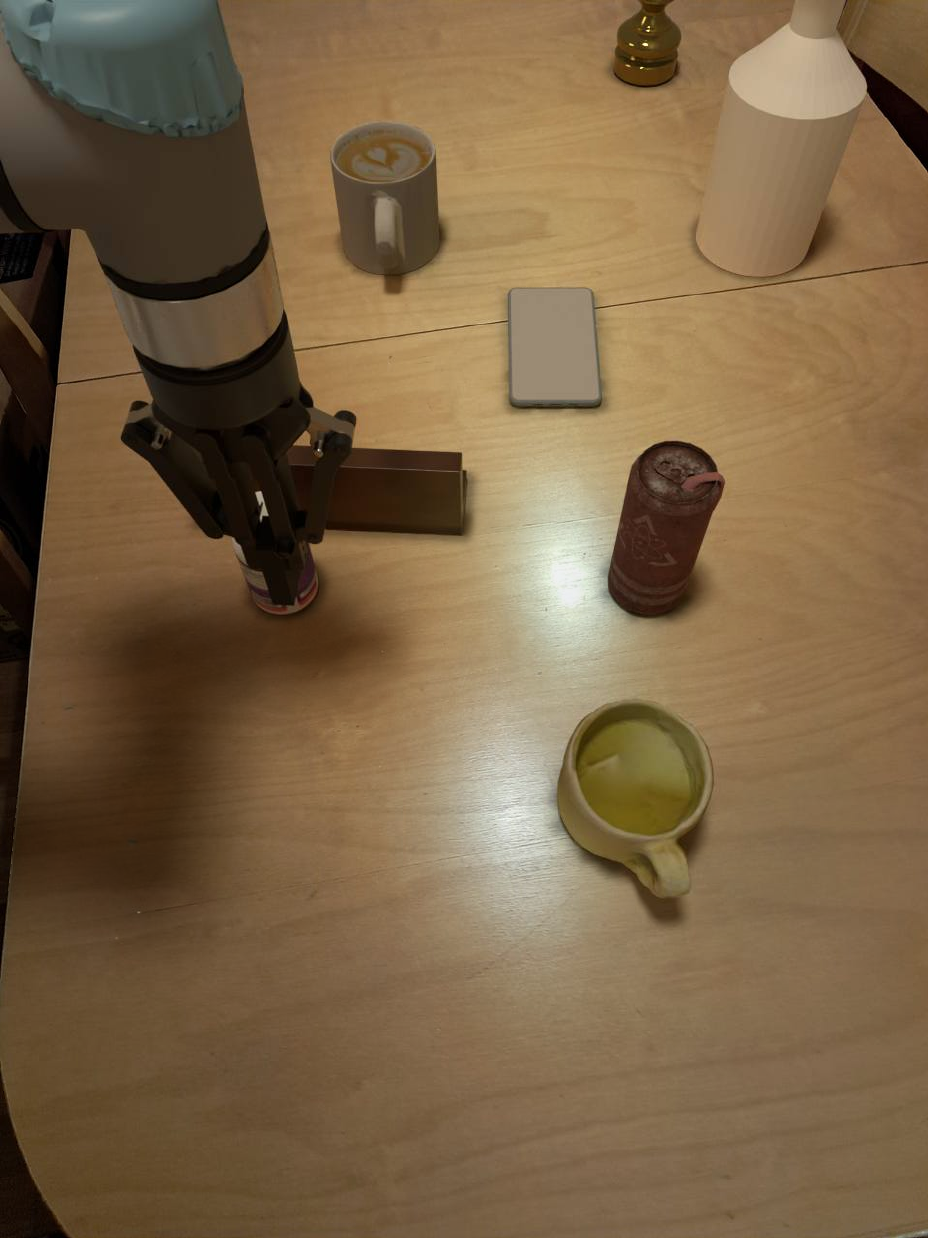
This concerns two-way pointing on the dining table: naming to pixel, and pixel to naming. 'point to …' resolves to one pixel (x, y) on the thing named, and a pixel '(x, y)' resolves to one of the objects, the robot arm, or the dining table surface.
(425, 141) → the coffee mug
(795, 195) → the bottle
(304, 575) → the pill bottle
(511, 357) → the smartphone
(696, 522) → the can
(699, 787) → the mug
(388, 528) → the brown long rectangular block
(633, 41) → the salt shaker
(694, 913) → the dining table surface
